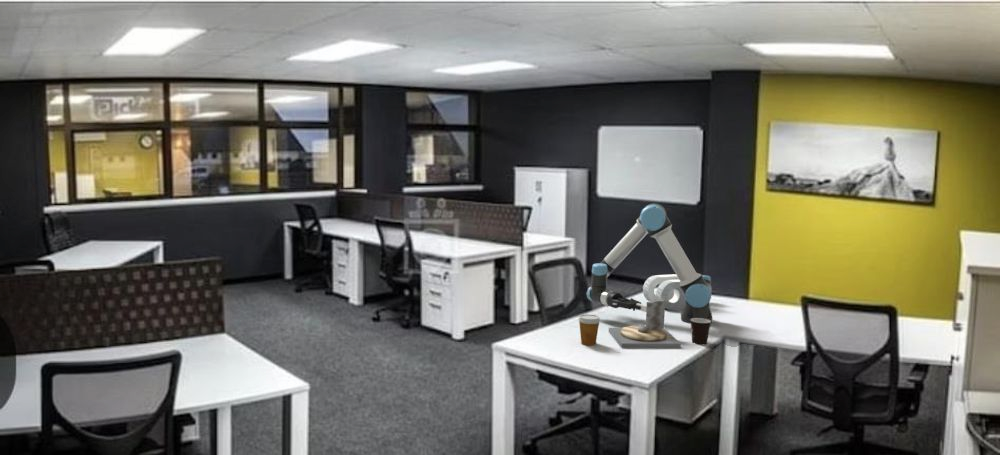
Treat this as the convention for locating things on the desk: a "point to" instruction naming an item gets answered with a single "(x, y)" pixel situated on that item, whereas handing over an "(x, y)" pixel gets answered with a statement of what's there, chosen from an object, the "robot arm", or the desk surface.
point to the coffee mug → (700, 330)
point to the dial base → (631, 343)
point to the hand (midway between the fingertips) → (647, 309)
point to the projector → (665, 291)
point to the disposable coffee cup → (588, 328)
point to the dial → (649, 324)
